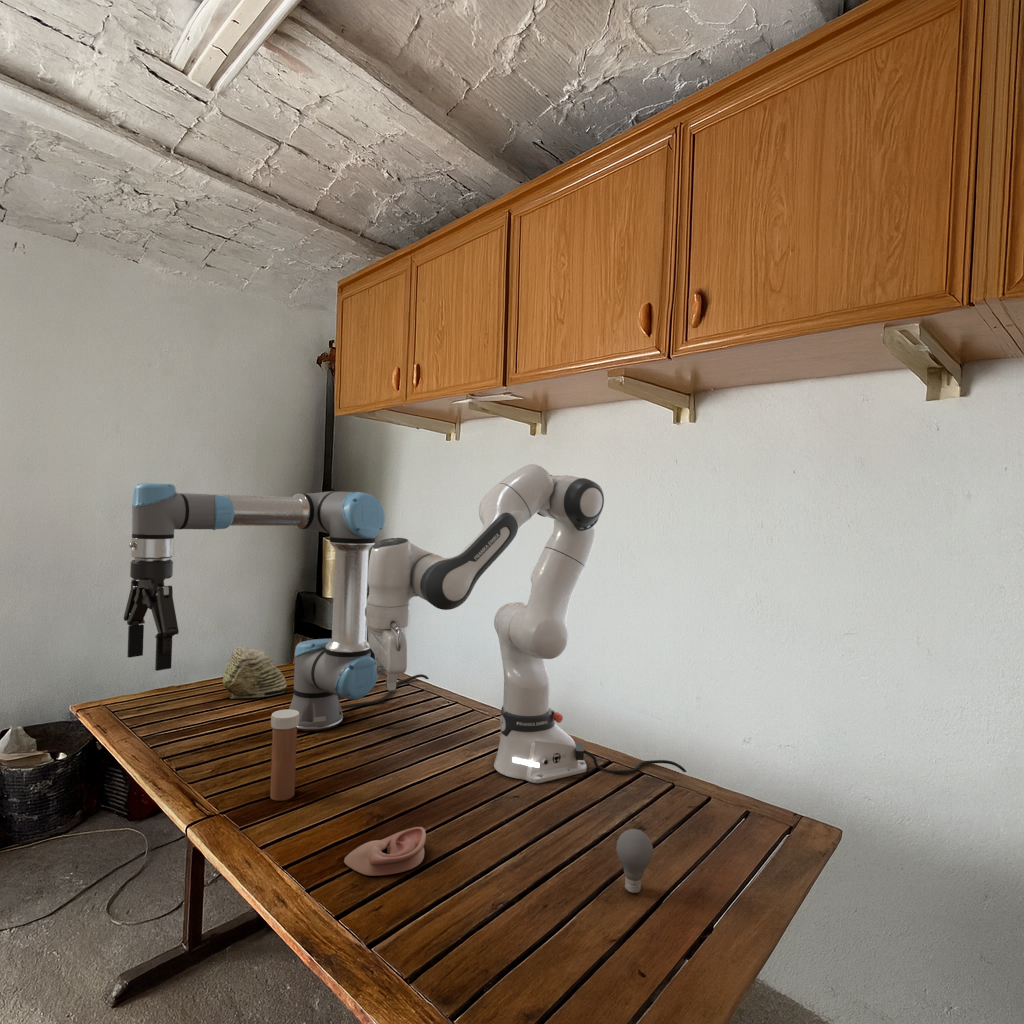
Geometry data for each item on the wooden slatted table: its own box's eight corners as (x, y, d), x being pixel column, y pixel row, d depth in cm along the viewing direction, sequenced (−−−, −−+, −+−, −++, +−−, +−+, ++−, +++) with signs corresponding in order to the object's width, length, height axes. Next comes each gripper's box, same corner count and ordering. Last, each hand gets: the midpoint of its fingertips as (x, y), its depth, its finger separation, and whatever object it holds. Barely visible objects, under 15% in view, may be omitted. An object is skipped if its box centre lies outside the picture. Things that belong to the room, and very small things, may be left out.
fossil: (218, 695, 195) (220, 647, 195) (278, 685, 208) (279, 640, 207) (228, 703, 189) (230, 653, 188) (289, 692, 201) (290, 645, 201)
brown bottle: (287, 801, 131) (290, 720, 131) (265, 799, 132) (268, 718, 131) (298, 791, 136) (301, 712, 136) (277, 788, 136) (280, 710, 136)
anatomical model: (336, 847, 108) (365, 815, 119) (335, 870, 108) (364, 836, 119) (410, 859, 105) (432, 825, 116) (409, 883, 105) (431, 846, 116)
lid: (291, 730, 130) (291, 719, 130) (265, 728, 131) (265, 716, 131) (303, 721, 136) (304, 710, 136) (278, 719, 137) (279, 708, 137)
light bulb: (610, 879, 108) (613, 822, 108) (644, 879, 109) (647, 822, 109) (619, 902, 102) (622, 840, 102) (655, 901, 103) (658, 840, 103)
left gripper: (108, 554, 134) (104, 654, 134) (159, 565, 118) (155, 678, 119) (146, 552, 140) (143, 648, 140) (199, 563, 124) (195, 671, 124)
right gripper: (416, 628, 123) (413, 697, 124) (391, 605, 142) (389, 665, 143) (384, 629, 121) (381, 700, 121) (363, 606, 139) (361, 668, 140)
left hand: (148, 662), depth 129 cm, fingers open, 13 cm apart
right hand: (385, 681), depth 132 cm, fingers open, 8 cm apart
